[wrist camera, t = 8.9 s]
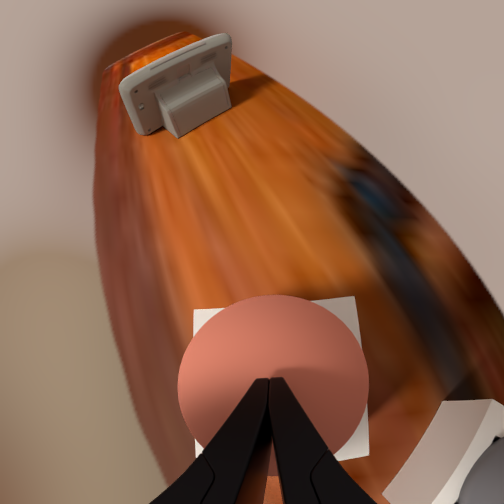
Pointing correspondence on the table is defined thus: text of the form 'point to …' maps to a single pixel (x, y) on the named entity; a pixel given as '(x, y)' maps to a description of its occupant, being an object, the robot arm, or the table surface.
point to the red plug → (275, 366)
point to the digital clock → (180, 87)
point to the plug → (485, 478)
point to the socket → (447, 452)
